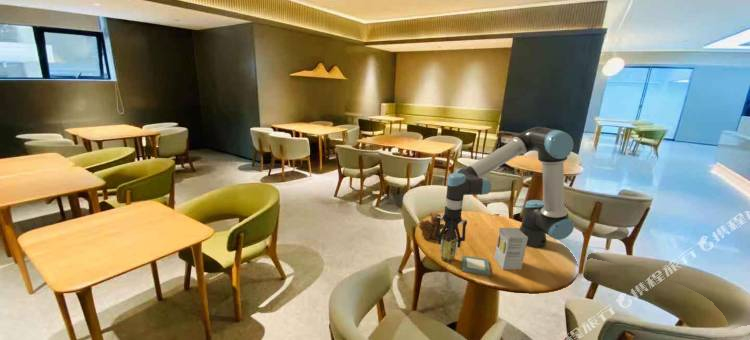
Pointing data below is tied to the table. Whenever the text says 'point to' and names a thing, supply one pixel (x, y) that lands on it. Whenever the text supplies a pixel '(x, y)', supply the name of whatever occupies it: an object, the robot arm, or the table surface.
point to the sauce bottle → (449, 243)
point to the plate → (475, 265)
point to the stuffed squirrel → (430, 227)
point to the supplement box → (510, 248)
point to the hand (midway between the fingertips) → (448, 251)
